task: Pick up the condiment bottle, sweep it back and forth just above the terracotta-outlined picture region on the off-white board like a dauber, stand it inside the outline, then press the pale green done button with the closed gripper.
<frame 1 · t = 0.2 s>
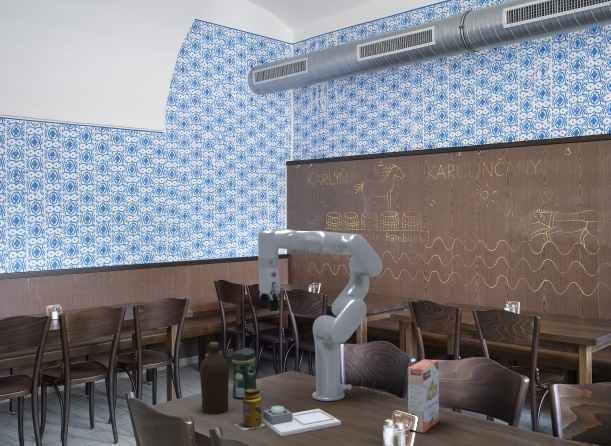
hand: (269, 309, 233), 36 cm above the table, tool pointing down, fingers open, 9 cm apart
board: (301, 423, 213), on the table
cracker box: (424, 426, 208), on the table
done button: (277, 412, 214), point 4 cm above the table, slide at 0.0 cm
condiment: (250, 426, 213), on the table
coffee jar: (244, 396, 248), on the table
olive oil: (215, 410, 230), on the table
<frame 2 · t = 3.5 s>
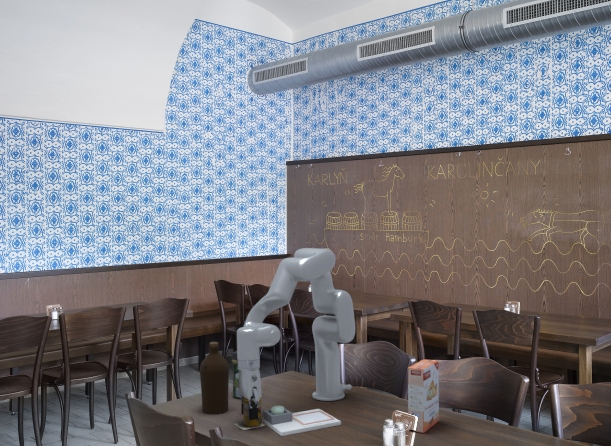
hand: (249, 416, 213), 3 cm above the table, tool pointing down, fingers closed on condiment, 6 cm apart
condiment: (249, 425, 213), on the table, touching gripper
everything else where it was.
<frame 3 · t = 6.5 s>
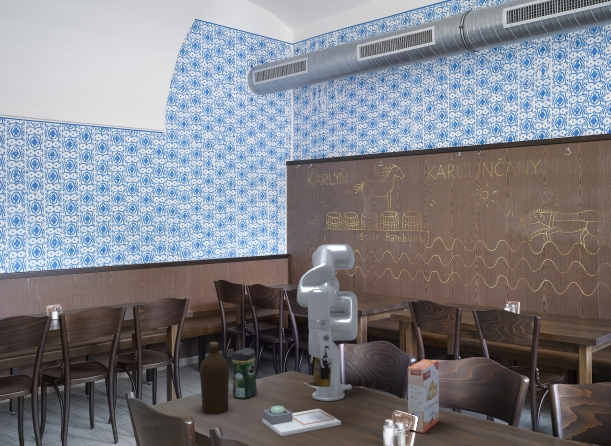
hand: (320, 376, 216), 15 cm above the table, tool pointing down, fingers closed on condiment, 6 cm apart
condiment: (319, 385, 216), point 12 cm above the table, touching gripper
everything else where it was.
when the fingers open (6 cm above the table, at t = 9.4 s): condiment drops 1 cm, resting on board.
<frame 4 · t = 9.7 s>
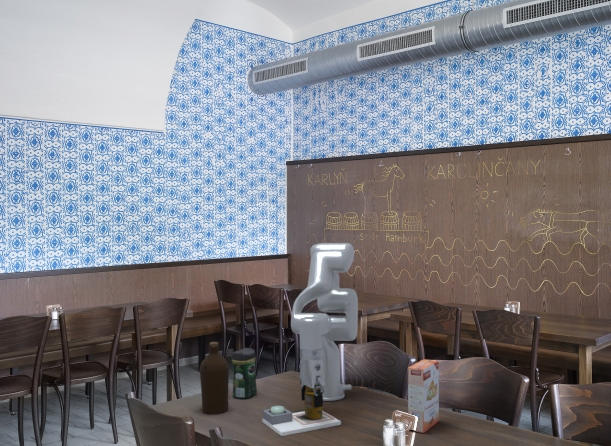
hand: (312, 403, 215), 6 cm above the table, tool pointing down, fingers open, 9 cm apart
condiment: (311, 418, 215), point 1 cm above the table, touching board
everything else where it was.
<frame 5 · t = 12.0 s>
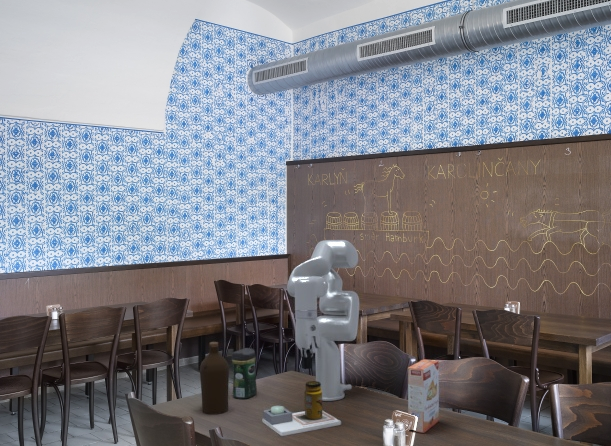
hand: (307, 368, 214), 19 cm above the table, tool pointing down, fingers closed
nothing on the table moved.
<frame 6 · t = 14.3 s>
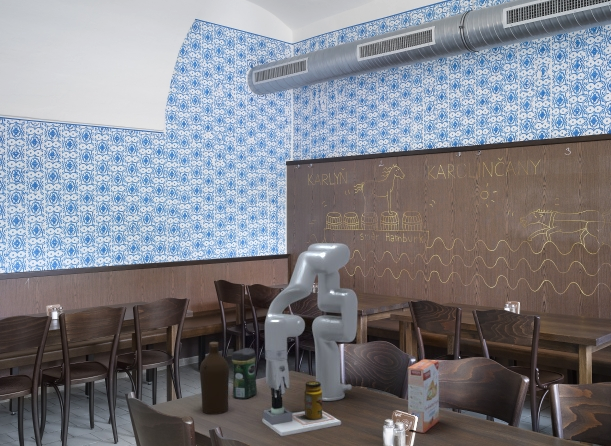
hand: (277, 407, 214), 5 cm above the table, tool pointing down, fingers closed
done button: (277, 412, 214), point 4 cm above the table, slide at 0.1 cm, touching gripper
everything else where it was.
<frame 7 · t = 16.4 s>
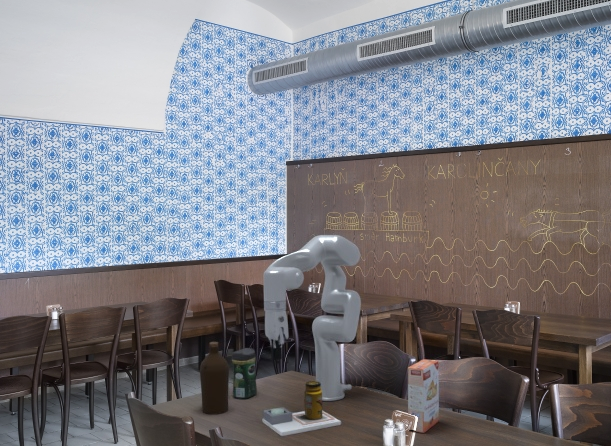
hand: (276, 359, 214), 22 cm above the table, tool pointing down, fingers closed
done button: (277, 414, 214), point 3 cm above the table, slide at 0.9 cm
everything else where it was.
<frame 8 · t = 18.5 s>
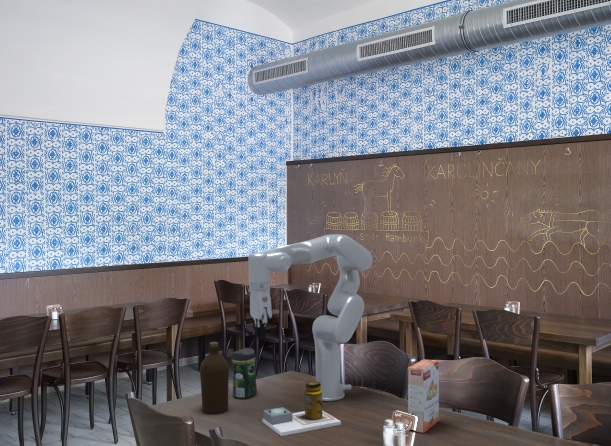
hand: (260, 337, 226), 27 cm above the table, tool pointing down, fingers closed
nothing on the table moved.
at the end: condiment inside the target area (0.6 cm from its centre), point 1.2 cm above the table; condiment tilted 0°; done button slide at 0.9 cm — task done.
